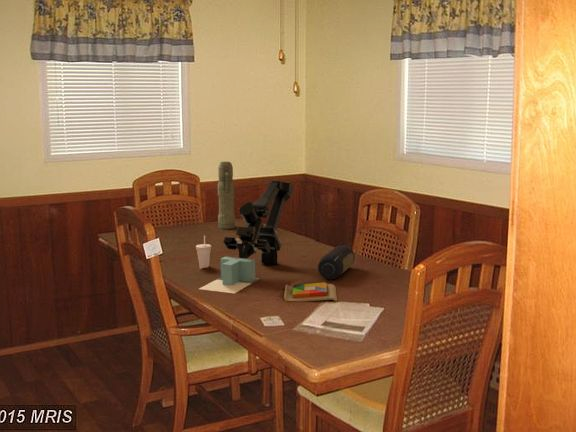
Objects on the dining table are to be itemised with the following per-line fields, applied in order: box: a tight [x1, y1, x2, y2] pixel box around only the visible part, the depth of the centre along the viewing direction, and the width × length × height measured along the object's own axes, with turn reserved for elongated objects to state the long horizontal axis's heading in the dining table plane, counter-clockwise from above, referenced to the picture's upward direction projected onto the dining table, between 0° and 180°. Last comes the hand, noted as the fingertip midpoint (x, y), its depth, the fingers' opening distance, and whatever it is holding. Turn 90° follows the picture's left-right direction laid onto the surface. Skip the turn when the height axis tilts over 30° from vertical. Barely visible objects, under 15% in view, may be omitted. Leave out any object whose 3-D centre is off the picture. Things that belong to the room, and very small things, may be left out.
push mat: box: [198, 276, 261, 294], centre depth 275 cm, size 22×15×1 cm
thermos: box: [217, 161, 236, 230], centre depth 381 cm, size 9×12×35 cm
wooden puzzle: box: [283, 282, 338, 303], centre depth 263 cm, size 18×19×4 cm
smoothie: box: [195, 235, 212, 270], centre depth 300 cm, size 6×6×14 cm
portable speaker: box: [317, 244, 355, 280], centre depth 291 cm, size 25×10×10 cm, turn 160°
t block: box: [219, 256, 256, 286], centre depth 277 cm, size 11×13×8 cm
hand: (240, 262), depth 282 cm, fingers closed
